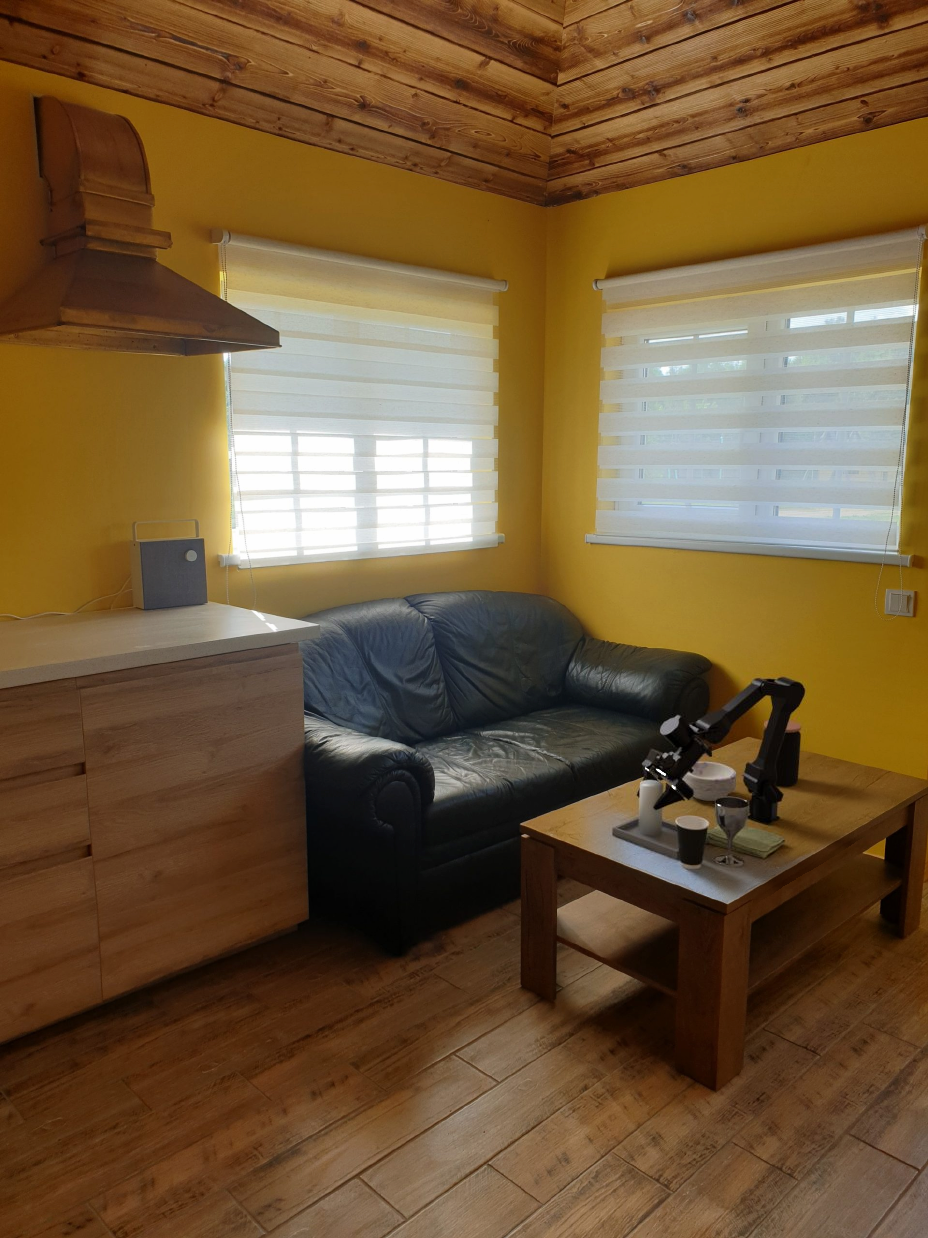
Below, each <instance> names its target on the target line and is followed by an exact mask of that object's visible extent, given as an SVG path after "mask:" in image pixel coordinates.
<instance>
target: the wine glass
mask: <svg viewBox="0 0 928 1238" xmlns="http://www.w3.org/2000/svg"><path fill="white" fill-rule="evenodd" d="M749 805H750V801H748V800H746V799H744V798H742V797H737V796H729V795H727V796H724V797H719V798H717V799H716V800H715V801H714V813H715V814H714V816H715V819H716V823H717V825H719V827H720V828H721V829H722V830H723V832H724V833H725V834H726V836H727V840H728V849H727V853H721V854H717V855H715V856H714V857H713V860H714V861H715V862H716V863H717V864H719V865H722V866H724V867H730V868H734V867H735V868H736V867H737V868H738V867H741V866H742V865H745V860H744V859H743V858H742V857H740V856H738V855H735V854H732V850H731V848H732V842H733V839H734V837H735V835H736V834H737V833H738V832H740V831H741V830H742V829H743V828H744V827H745V826H746V824H747V823H748V819H749V818H748V815H750V814H749Z"/></svg>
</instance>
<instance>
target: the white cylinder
mask: <svg viewBox="0 0 928 1238" xmlns="http://www.w3.org/2000/svg"><path fill="white" fill-rule="evenodd" d="M639 788H640V797H638V798H639V799H638V817H639V824H638V831H639V833H641V834H643V835H647V836H657V835H660V834H661V833H662V820H663V808H664V807H663V808H661V809H658V810H655V809H654V808H653V807H654V805H655V803H656V802H657V801H658V799H659V798H660V797H661V795H662V794H663V793H664V783H663V782H661V781H660V780H658V781H655V780H645V781H643V780H642V781H640V782H639Z"/></svg>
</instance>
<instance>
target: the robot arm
mask: <svg viewBox="0 0 928 1238" xmlns="http://www.w3.org/2000/svg"><path fill="white" fill-rule="evenodd" d="M805 693H806V689H805V686H804V685H803V683H802V682H800V681H798V680H795V679H792V678H789V677H786V676H780V677H778V678H761V677H757V678H754V679H753V680H752V681H751V682H750V684H749V685H747V686H746V687H745V688H744V689H742V691H740V692H739V693H738V694H737V695H736V696H734V697H733V698H732V699H731V700H729V702H727V703H726V704H724V705H723V707H721V708H720V709H718V710H716V711H712V712H709V713H707V714H706V715H704V716H702V717H701V718H699V719H698V720H697V721H695V722H694V721H693V722H689V723H688V722H687V721H686V720H685V718H684V717H683V716H682V715H679V714H677V715H676V716H674V717H671V718H669V719H668V720H665V721H664V722H663V723H662V724H661V725H660V729H659V732H660V734H661V735H662V736H663V738H665V739H666V740H667V741H668V742H669V743H670V744H671V745H672V746H673V747H674V748H677V749H676V751H675V752H673V751H670V752H664V753H663V752H661V751H659V750H655V749H653V748H650V749H649V752H648V755H647V756H646V758H645V760H644V761H643V762H642V763H641V765H642V770H643V779H642V781H645V780H655V781H659V782H661V781H663V780H664V781H666V782H665V788H664V789H665V790H663V794H662V795H661V797H660V798H659V799H658V801H657V802H656V803H655V805H654V807H653V808H654V809H655V810H658V809H661V808H665V807H668V806H670V805H673V804H676V803H678V802H679V803H680V802H682V801H683V802H685V801H686V800H687V801H690V800H691V799H692V798H693V795H694V790H693V789H692V788H691V787H690V786H689V785H688V784H687V783H686V782H685V781H684V780H683V777H684V776H685V775H686V774H687V773H688V772H690V773H692V772H693V771H694V770H693V769H692V767H693V766H694V765H695V764H696V763H697V762H699V760H700V759H702V757H703V756H704V755H705V756H708V757H709V758H712V757H713V751H712V750H713V749H712V748H713V747H712V746H711V745H718V744H720V743H721V742H722V741H723V740H724V739H725V738H726V737H727V736H728V734H730V731H731V728H732V726H733V725H734V724H735V723H736V721H738V720H739V719H740V718H741V717H743V716H744V715H745V714H746V713H747V712H748V711H750V710H751V709H752V708H753V707H754V706H755V705H757V704H758V703H759V702H760V701H761V700H763V699H764V698H765V697H767V696H769V697H770V700H771V701H770V702H771V712H770V714H769V718H768V720H769V721H768V720H767V721H768V724H767V727H766V731H765V734H764V737H762V741H761V743H760V748H759V749H758V753H757V756H756V759H754V760H753V761H752V762H749V761H747V762H746V764H745V768H744V771H743V773H742V775H741V776H742V777H743V778H742V779H743V785H744V786H745V787H746V788H747V792H748V793H749V794H751V798H750V799H749V814H748V819H749V820H752V821H755V822H758V823H759V822H760V823H761V824H765V825H770V824H772V823H774V822H777V821H778V820H781V819H780V818H781V817H780V816H778V809H779V808H778V806H779V802H780V803H781V802H782V801H783V798H784V793H783V792H782V791H781V790H780V789H779V788H778V786H776V780H777V773H776V767H775V763H776V760H777V757H778V754H779V750H780V747H781V744H782V741H783V738H784V735H785V731H786V728H787V725H788V722H789V721H790V718H791V716H792V713H794V712H795V711H796V710H797V709H798V708H799V707H800V706H801V703H802V701H803V700H804V698H805V695H806V694H805ZM694 736H695V737H697V738H694ZM704 741H706V742H707V743H708V744H705V743H704ZM710 744H711V745H710ZM636 797H638V798H639V797H640V787H639V788H638V791H637V792H636Z"/></svg>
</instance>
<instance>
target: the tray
mask: <svg viewBox="0 0 928 1238" xmlns="http://www.w3.org/2000/svg"><path fill="white" fill-rule="evenodd" d="M638 824H639V816H637V817H635V818H632V819H630V820H627V821H625V822H623V823H621V824H618V825H616V826H614V827H612V834H611V835H612V836H613V837H617V838H619V839H622V840H624V841H627V842H630V843H632V844H635V845H637V844H638V846H641V847H643V848H646V849H648V850H651V851H653V852H655V853H658V854H660V855H661V854H662V855H664V856H666V855H667V857H669V858H672V859H674V860H675V859H676V860H679V848H678V835H677V824H676V823H674V822H673V823H672V822H669V821H668V820H664V819H662V833H661V834H660V835H657V836H647V835H643V834H641V833H639V831H638ZM708 840H709V836H708V835H707V836H706V842H705V846H706V845H708V844H709V843H708Z"/></svg>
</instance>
